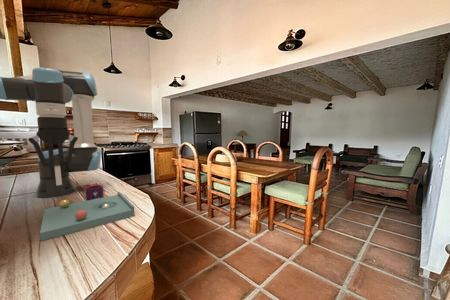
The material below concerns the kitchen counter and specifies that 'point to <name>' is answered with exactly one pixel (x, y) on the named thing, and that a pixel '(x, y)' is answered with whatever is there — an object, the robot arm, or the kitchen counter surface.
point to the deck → (67, 223)
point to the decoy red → (81, 214)
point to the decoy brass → (64, 203)
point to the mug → (94, 192)
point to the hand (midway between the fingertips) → (59, 184)
